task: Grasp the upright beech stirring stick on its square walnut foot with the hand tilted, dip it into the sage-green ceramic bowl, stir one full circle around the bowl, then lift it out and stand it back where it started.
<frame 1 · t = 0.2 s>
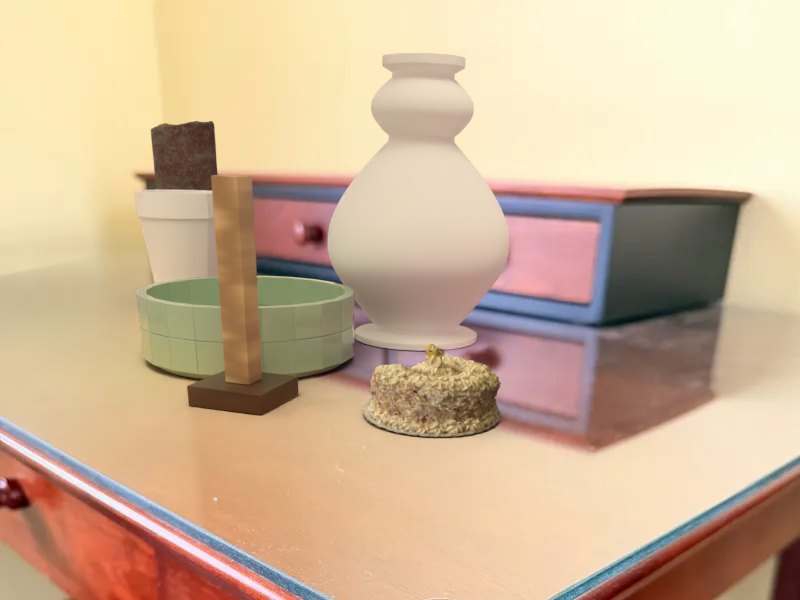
dark brown tall block: (196, 303, 102), on the table
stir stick: (245, 400, 62), on the table
bowl: (251, 358, 74), on the table
foam cup: (191, 319, 92), on the table
cake: (431, 418, 59), on the table
decorative vase: (415, 339, 84), on the table
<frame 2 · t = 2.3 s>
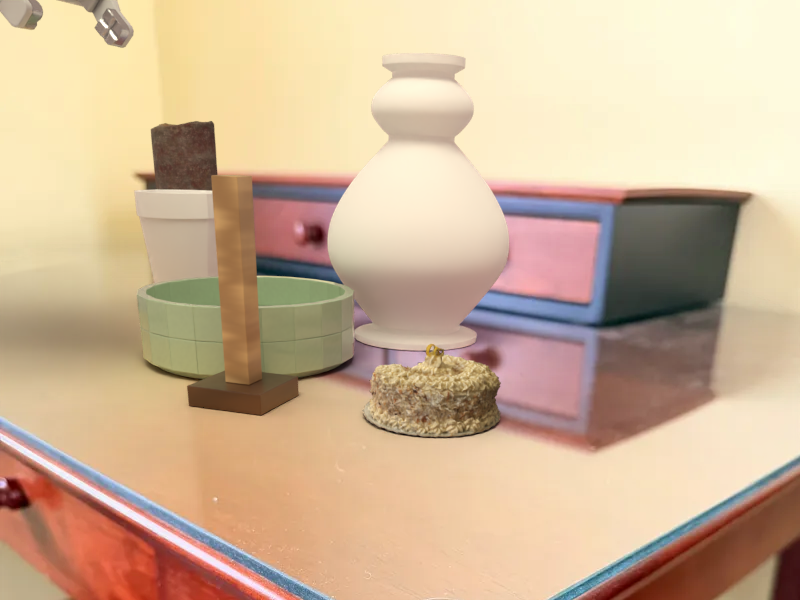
hand: (80, 31, 55), 24 cm above the table, tool tilted 45°, fingers open, 8 cm apart
nothing on the table moved.
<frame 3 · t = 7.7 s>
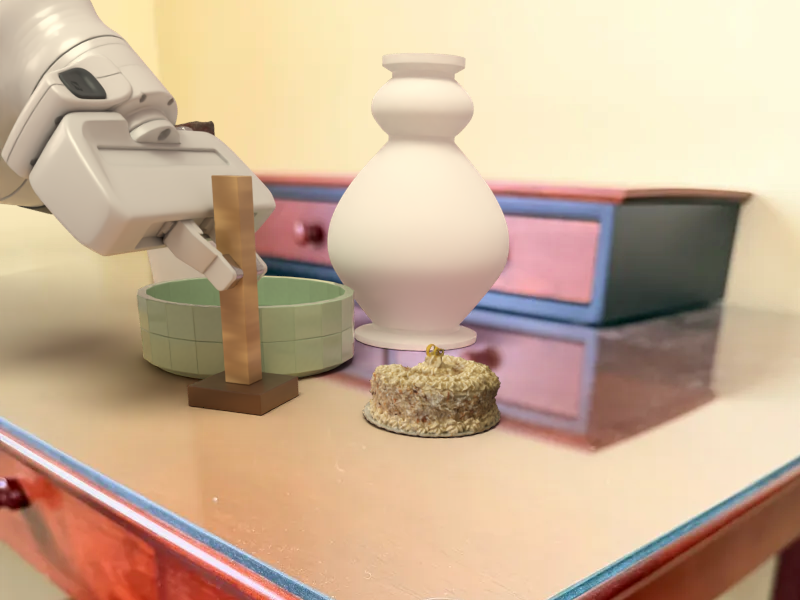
hand: (245, 281, 58), 9 cm above the table, tool tilted 45°, fingers closed on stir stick
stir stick: (245, 400, 62), on the table, touching gripper
everything else where it was.
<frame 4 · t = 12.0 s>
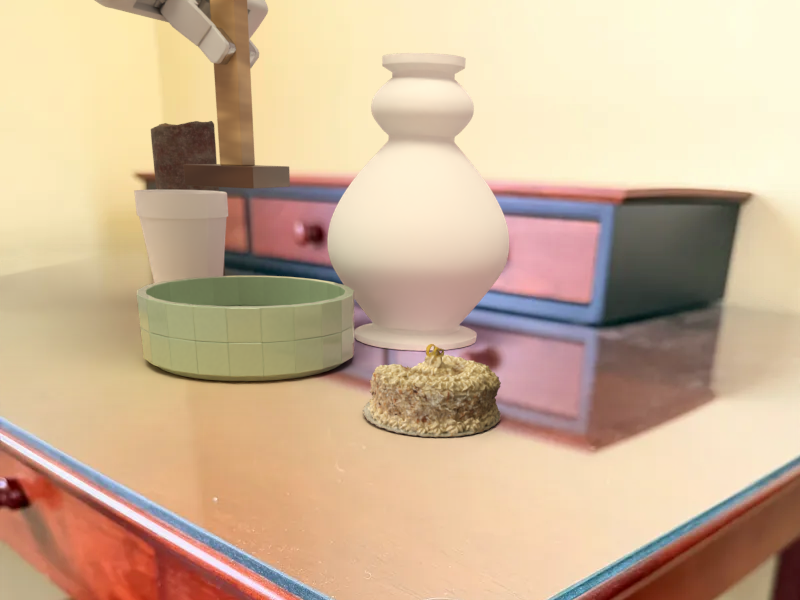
hand: (238, 59, 61), 23 cm above the table, tool tilted 45°, fingers closed on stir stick
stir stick: (238, 186, 65), point 14 cm above the table, touching gripper
everything else where it was.
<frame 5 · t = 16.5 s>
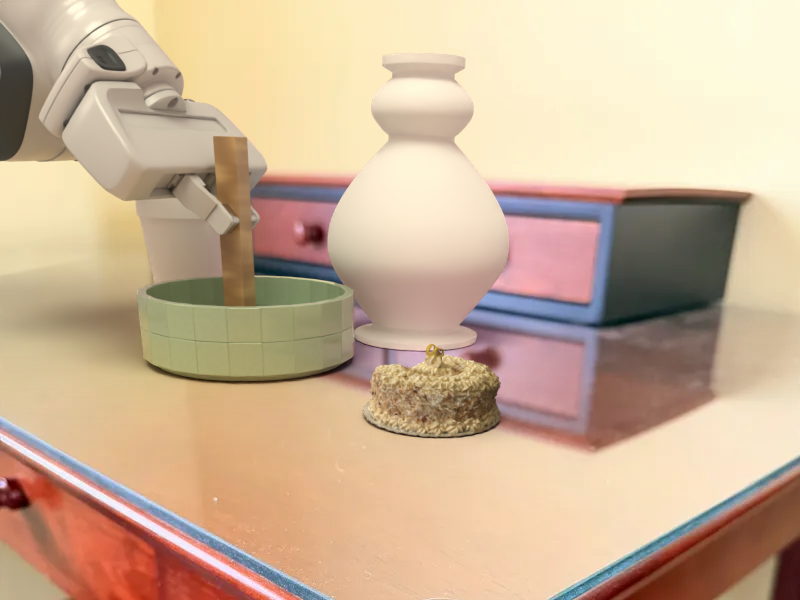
hand: (241, 227, 68), 11 cm above the table, tool tilted 45°, fingers closed on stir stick
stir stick: (241, 332, 72), point 3 cm above the table, touching gripper
everything else where it was.
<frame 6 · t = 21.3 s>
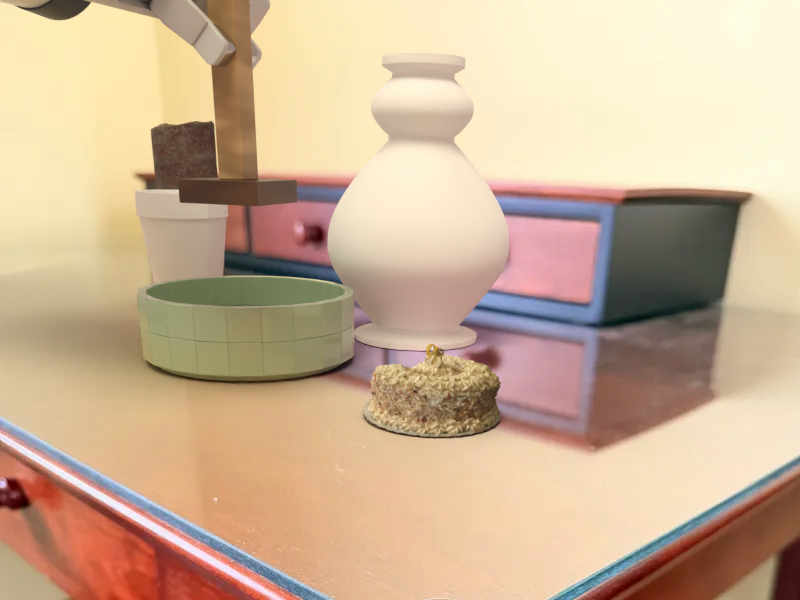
hand: (238, 61, 54), 22 cm above the table, tool tilted 45°, fingers closed on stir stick
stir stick: (240, 202, 58), point 14 cm above the table, touching gripper
everything else where it was.
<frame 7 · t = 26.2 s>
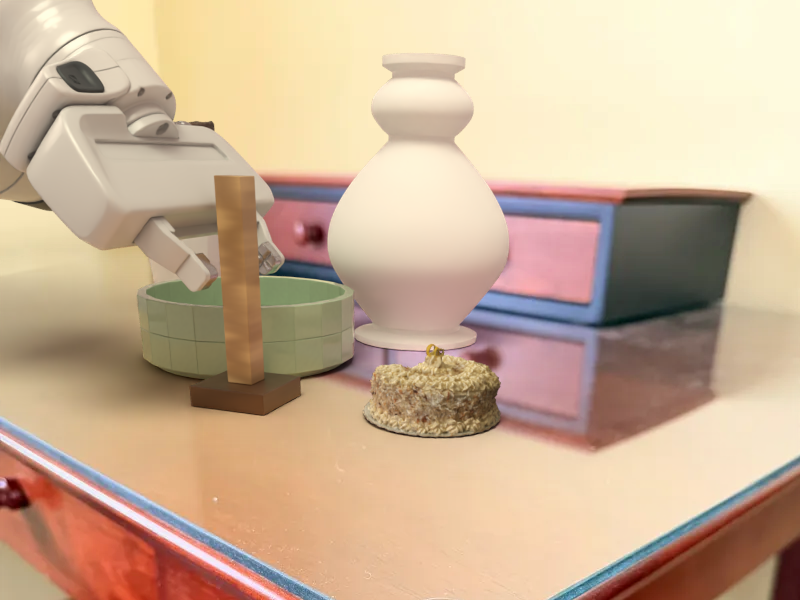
hand: (243, 276, 58), 9 cm above the table, tool tilted 45°, fingers open, 8 cm apart
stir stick: (247, 400, 62), on the table
everything else where it was.
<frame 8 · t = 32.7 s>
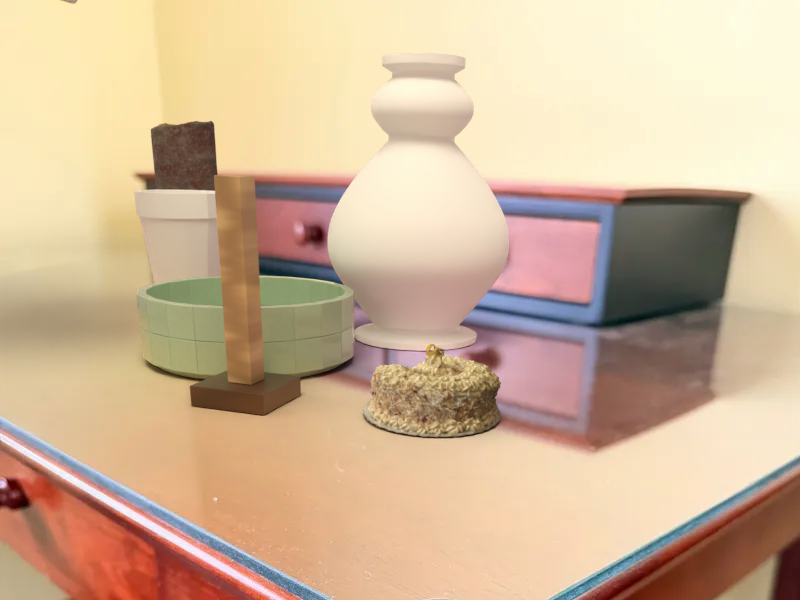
nothing on the table moved.
at the end: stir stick inside the target area (0.2 cm from its centre), on the table; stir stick tilted 0°; the gripper is holding nothing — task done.
